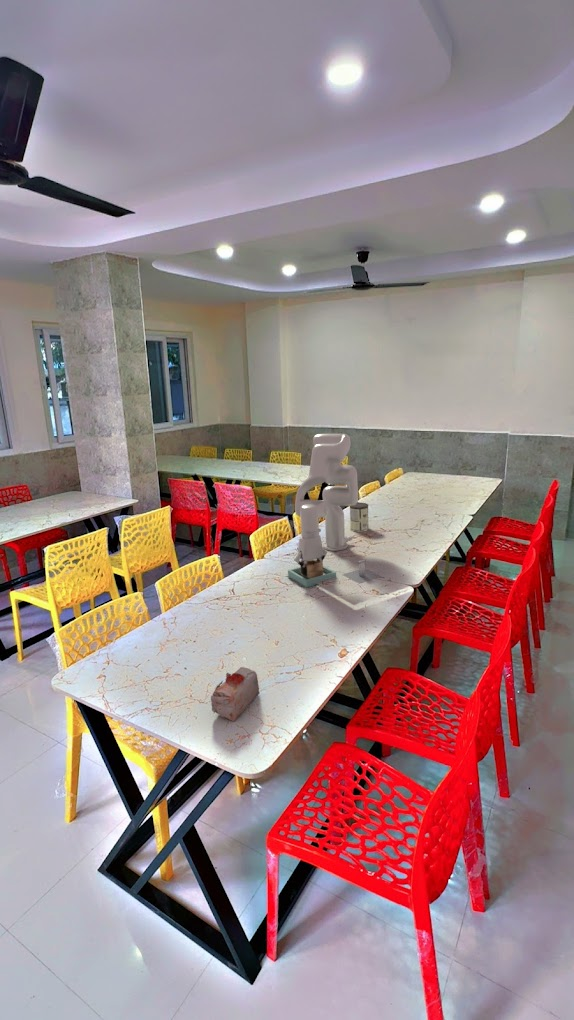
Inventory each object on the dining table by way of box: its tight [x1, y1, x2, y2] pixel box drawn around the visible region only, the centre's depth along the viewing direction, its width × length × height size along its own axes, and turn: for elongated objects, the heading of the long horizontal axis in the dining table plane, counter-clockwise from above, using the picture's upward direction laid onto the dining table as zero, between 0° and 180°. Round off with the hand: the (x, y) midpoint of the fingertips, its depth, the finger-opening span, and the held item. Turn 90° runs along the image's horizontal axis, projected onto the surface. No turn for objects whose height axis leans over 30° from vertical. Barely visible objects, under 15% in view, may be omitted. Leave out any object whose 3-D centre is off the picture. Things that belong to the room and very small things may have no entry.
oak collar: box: [299, 559, 324, 579], centre depth 219 cm, size 7×7×6 cm
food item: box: [210, 666, 260, 722], centre depth 136 cm, size 14×8×10 cm, turn 152°
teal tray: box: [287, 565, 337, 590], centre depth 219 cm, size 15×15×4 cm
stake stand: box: [342, 559, 383, 585], centre depth 216 cm, size 12×12×8 cm
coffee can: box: [349, 502, 369, 533], centre depth 283 cm, size 10×10×14 cm
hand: (311, 572), depth 219 cm, fingers closed on oak collar, 6 cm apart
